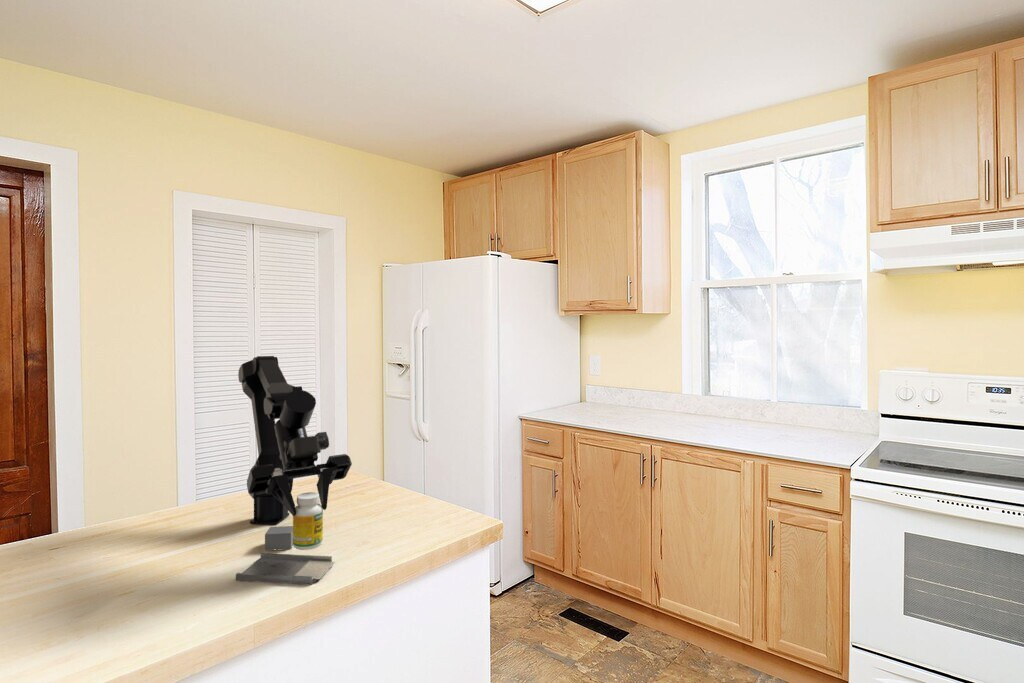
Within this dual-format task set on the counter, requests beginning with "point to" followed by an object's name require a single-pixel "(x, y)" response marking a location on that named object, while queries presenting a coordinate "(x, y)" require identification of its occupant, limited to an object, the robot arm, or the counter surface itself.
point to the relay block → (279, 538)
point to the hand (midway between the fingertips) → (310, 511)
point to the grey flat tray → (287, 568)
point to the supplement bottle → (308, 522)
